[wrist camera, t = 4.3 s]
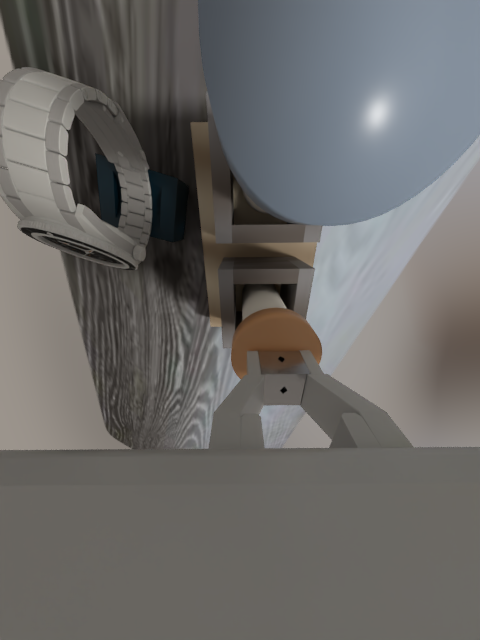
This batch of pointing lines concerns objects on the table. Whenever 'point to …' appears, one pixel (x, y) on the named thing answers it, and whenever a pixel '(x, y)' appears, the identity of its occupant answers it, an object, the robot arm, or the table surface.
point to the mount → (245, 239)
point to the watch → (56, 199)
